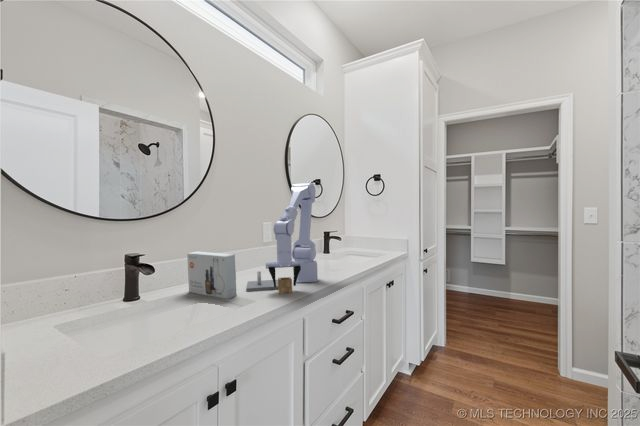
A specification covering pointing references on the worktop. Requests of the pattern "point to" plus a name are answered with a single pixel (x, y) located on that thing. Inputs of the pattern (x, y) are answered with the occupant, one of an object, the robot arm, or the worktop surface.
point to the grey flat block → (261, 284)
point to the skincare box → (212, 274)
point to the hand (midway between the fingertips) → (284, 285)
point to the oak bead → (285, 285)
